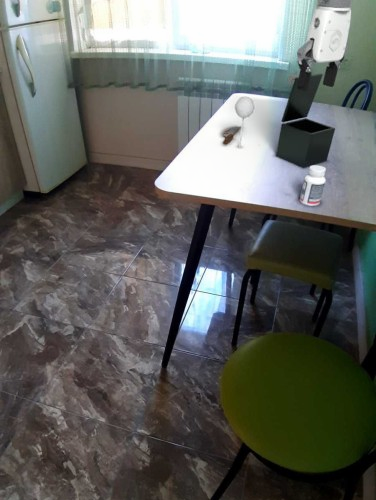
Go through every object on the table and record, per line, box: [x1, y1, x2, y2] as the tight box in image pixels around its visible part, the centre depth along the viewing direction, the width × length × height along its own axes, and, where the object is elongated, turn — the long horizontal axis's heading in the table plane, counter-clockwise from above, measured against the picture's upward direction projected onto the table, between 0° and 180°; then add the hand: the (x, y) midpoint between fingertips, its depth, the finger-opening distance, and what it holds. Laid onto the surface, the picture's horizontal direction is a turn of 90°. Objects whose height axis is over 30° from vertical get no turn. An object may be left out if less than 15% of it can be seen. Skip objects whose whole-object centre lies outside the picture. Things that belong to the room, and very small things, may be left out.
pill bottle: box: [299, 164, 327, 207], centre depth 105 cm, size 5×5×9 cm
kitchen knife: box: [222, 126, 241, 145], centre depth 144 cm, size 21×2×5 cm
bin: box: [275, 117, 336, 169], centre depth 127 cm, size 12×11×10 cm
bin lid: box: [280, 73, 324, 123], centre depth 123 cm, size 12×11×5 cm
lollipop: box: [234, 96, 255, 148], centre depth 131 cm, size 6×6×15 cm
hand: (315, 87), depth 104 cm, fingers open, 9 cm apart
